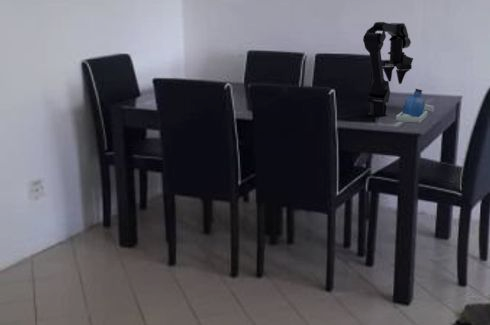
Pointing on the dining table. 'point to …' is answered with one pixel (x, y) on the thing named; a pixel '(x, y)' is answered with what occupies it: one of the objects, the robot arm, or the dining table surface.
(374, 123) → the dining table surface
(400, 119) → the tray
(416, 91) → the perfume bottle
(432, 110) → the bay
